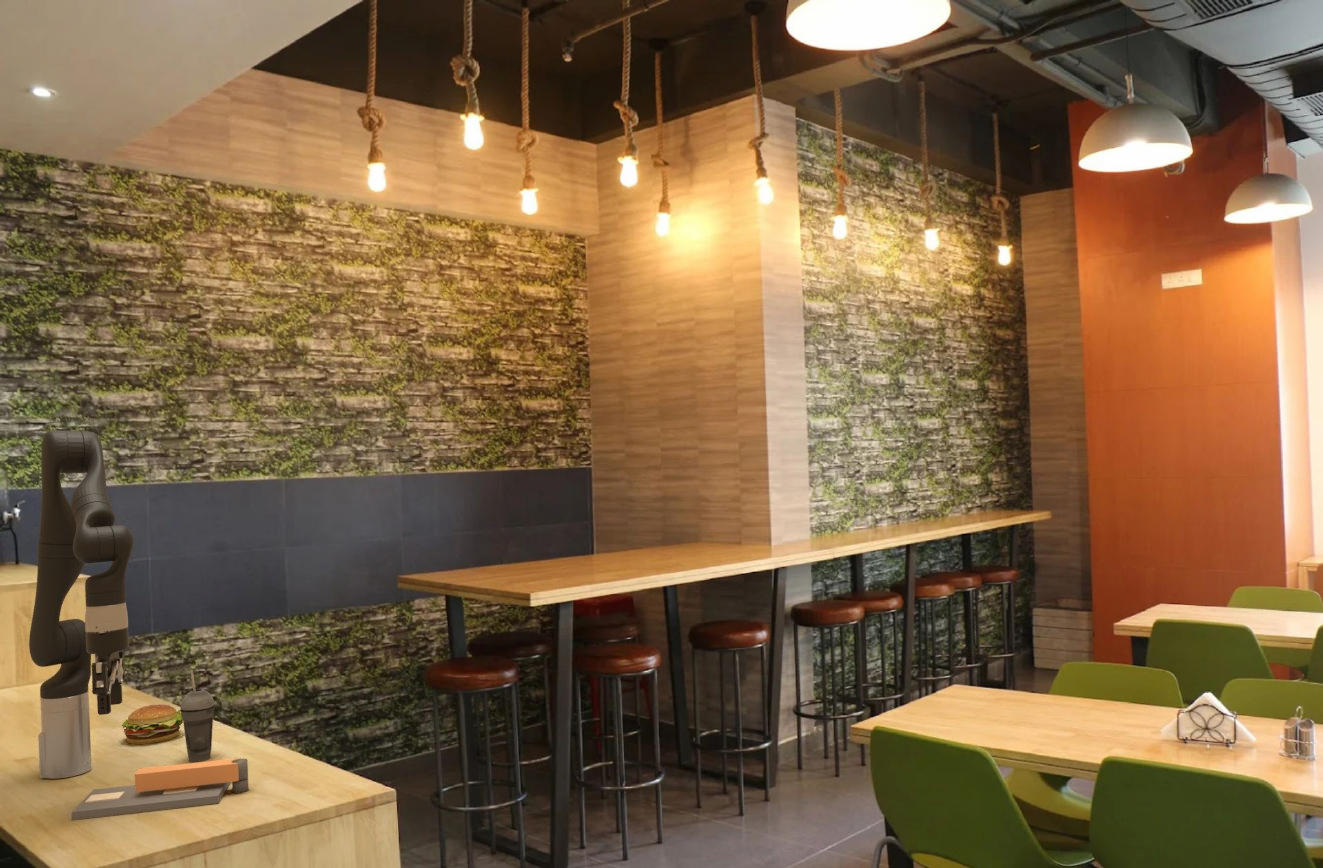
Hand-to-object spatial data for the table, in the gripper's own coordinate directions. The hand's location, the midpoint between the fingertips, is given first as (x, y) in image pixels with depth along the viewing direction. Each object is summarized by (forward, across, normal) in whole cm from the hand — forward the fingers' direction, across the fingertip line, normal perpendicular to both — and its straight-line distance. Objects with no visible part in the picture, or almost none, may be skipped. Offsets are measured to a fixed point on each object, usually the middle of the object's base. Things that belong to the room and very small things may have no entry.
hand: (110, 708), depth 208 cm
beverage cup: (+19, -27, +11) cm, 35 cm away
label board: (+19, +1, +10) cm, 21 cm away
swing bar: (+16, +1, +15) cm, 22 cm away
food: (+19, -51, -4) cm, 55 cm away
